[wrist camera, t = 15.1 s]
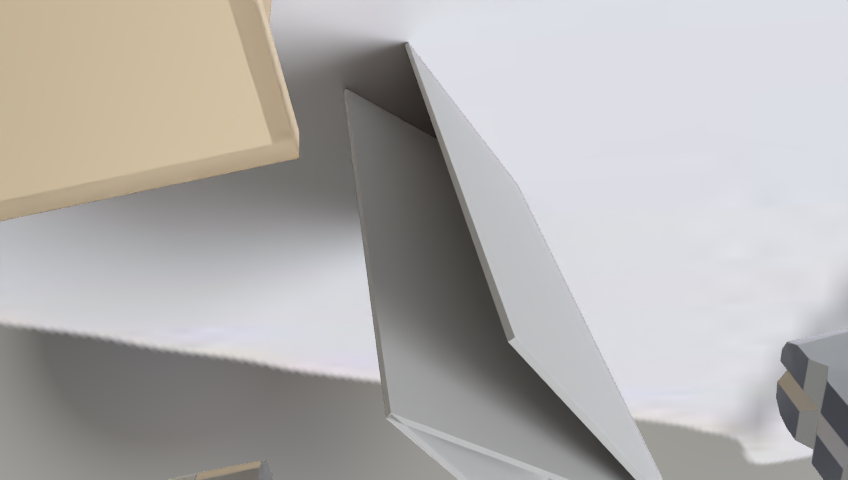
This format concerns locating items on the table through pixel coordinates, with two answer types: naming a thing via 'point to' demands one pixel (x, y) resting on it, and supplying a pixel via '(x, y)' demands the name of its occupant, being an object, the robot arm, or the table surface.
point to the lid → (134, 98)
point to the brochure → (477, 309)
